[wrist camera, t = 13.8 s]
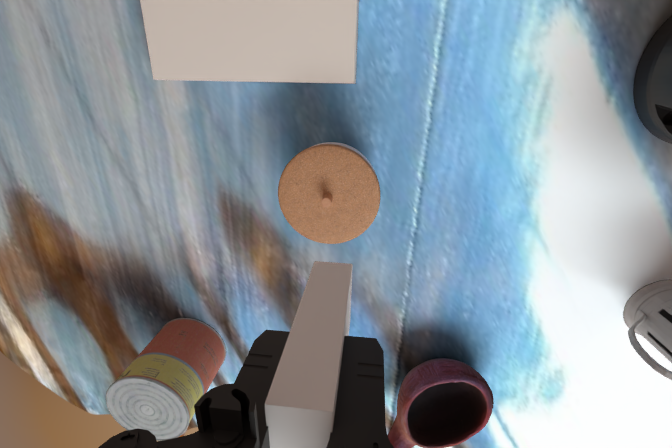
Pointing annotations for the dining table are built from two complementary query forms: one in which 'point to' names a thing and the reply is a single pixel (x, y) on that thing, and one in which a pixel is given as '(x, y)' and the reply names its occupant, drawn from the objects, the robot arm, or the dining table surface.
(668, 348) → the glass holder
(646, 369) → the dining table surface
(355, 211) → the lidded jar
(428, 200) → the dining table surface
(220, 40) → the board
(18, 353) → the dining table surface
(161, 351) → the canned food
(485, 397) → the bowl
